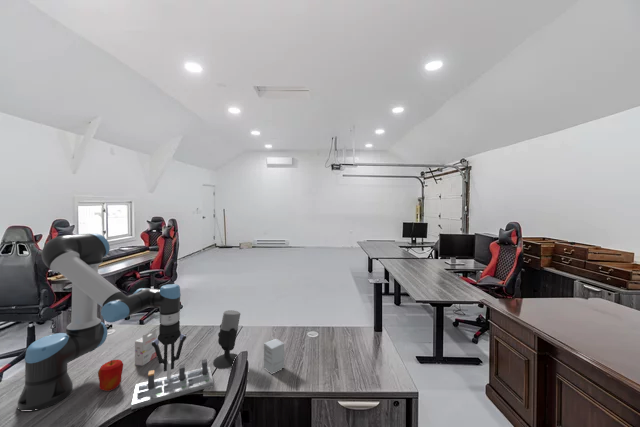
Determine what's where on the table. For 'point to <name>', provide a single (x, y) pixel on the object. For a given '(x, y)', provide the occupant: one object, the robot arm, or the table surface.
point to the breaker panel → (171, 387)
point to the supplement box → (274, 355)
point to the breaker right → (204, 367)
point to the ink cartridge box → (145, 348)
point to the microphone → (227, 339)
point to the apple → (110, 375)
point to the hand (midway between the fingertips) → (168, 377)
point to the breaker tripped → (151, 379)
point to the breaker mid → (181, 372)
